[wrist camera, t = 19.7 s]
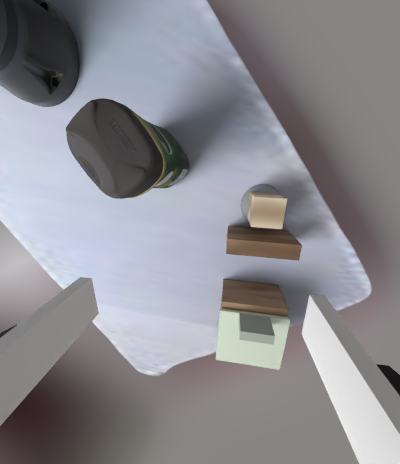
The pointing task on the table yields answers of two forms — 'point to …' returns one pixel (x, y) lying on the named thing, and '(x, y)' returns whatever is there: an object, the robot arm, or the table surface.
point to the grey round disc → (254, 189)
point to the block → (266, 210)
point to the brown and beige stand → (258, 245)
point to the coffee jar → (124, 150)
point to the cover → (251, 338)
